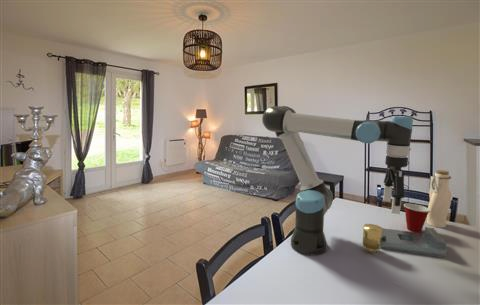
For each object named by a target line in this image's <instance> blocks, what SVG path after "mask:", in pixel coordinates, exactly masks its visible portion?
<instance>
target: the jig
mask: <svg viewBox="0 0 480 305" xmlns="http://www.w3.org/2000/svg"><path fill="white" fill-rule="evenodd" d="M380 227H381V228H382V238H381V248H380V249H386V250H391V251H399V252H406V253H413V254H419V255H420V254H421V255H425V256H427V255H428V256H434V257H439V258H440V257H441V258H446V253H447V242H446V241H445V240H444V238H443V237H442V236H441V234H439V233H438V232H437V231H436V230H435V229H434V227H427V226H425V227H424V233H423V232H412V231H410V230H408V231H407V230H399V229H393V228H384V227H382V226H380Z"/></svg>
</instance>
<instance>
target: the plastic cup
mask: <svg viewBox="0 0 480 305" xmlns="http://www.w3.org/2000/svg"><path fill="white" fill-rule="evenodd" d="M403 208H404V212H405V222H406V229H407V230H408V231H409V232H417V233H422V230H423V227H424V225H425V222H426V221H427V215H428V213H429V212H430V209H429V208H428V207H426V206H424V205H421V204H414V203H404V204H403Z"/></svg>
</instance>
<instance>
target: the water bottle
mask: <svg viewBox="0 0 480 305" xmlns="http://www.w3.org/2000/svg"><path fill="white" fill-rule="evenodd" d="M451 179H452V177H451V176H450V172H449V171H448V170H443V169H437V170H435V173H434V174H433V176H430V181H429V182H430V183H429V184H430V185H429V189H428V190H429V193H428V194H429V203H428V207H427V208H429V209H430V212H429V213H428V215H427V217H426V223H427V225H430V226H432V227H436V228H446V227H447V217H448V213H449V210H450V207H451V202H452V192H451V189H450V187H449V185H450V180H451Z"/></svg>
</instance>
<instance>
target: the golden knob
mask: <svg viewBox="0 0 480 305" xmlns="http://www.w3.org/2000/svg"><path fill="white" fill-rule="evenodd" d="M381 227H382V226H381V225H378V224H375V223H373V224H372V223H365V224H363V230H362V242H361V243H362V246H363V247H364V248H365V252H367V253H369V254H377V251H378V250H381V249H382V248H381V238H382V228H383V227H382V228H381Z"/></svg>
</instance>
